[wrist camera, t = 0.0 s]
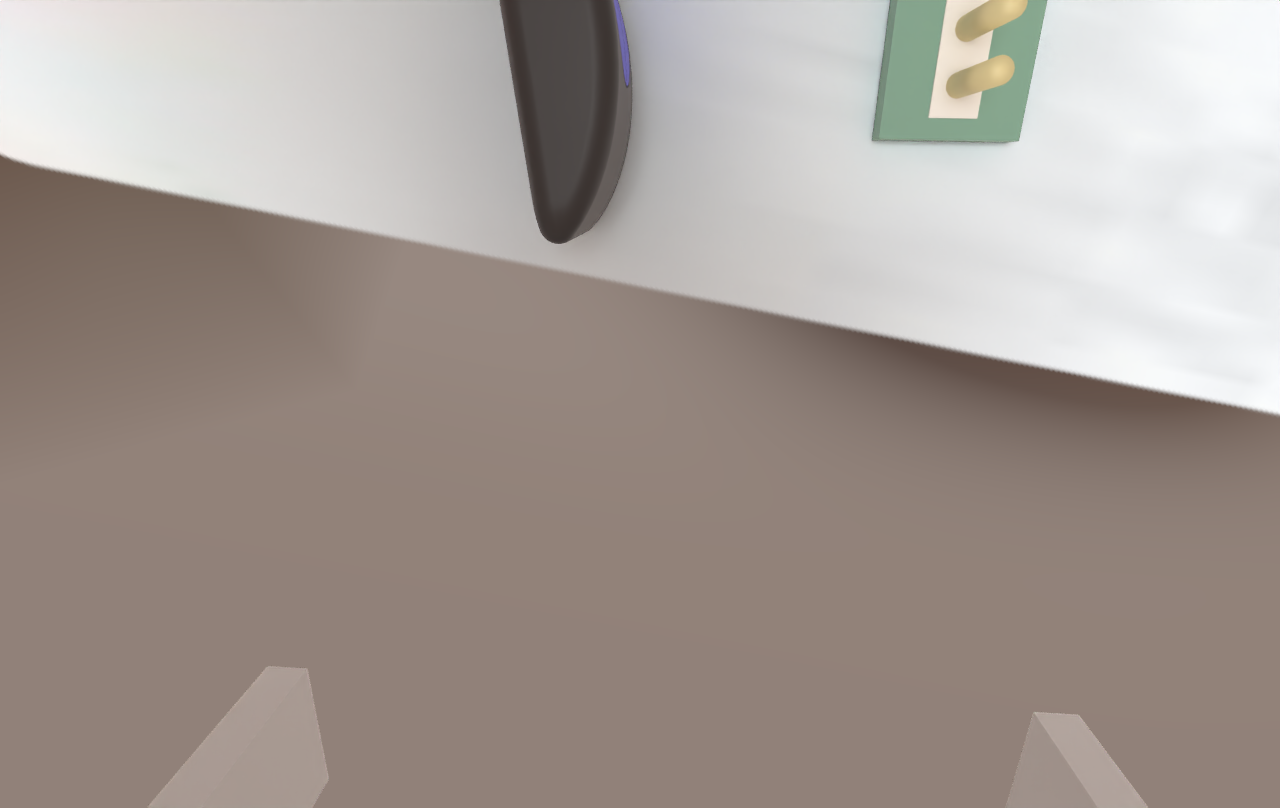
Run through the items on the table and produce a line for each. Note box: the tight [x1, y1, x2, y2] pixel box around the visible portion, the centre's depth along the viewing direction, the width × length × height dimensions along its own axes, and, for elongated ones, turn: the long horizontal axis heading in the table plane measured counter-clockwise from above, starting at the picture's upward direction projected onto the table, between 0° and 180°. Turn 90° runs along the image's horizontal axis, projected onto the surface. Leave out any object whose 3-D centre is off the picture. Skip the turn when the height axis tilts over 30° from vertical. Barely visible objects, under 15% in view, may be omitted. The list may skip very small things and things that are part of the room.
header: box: [872, 0, 1047, 142], centre depth 29 cm, size 10×7×6 cm
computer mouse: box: [500, 0, 632, 244], centre depth 29 cm, size 16×5×9 cm, turn 7°
